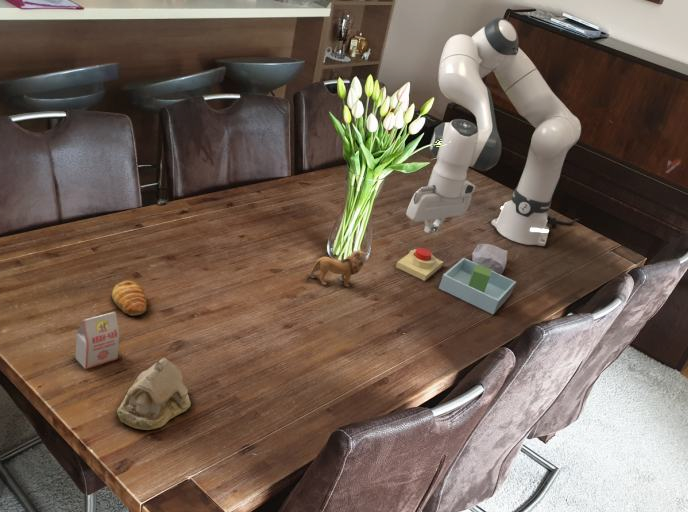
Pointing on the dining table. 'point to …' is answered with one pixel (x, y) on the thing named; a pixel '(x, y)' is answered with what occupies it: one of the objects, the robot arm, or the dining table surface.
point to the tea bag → (97, 340)
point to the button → (423, 254)
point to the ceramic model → (155, 397)
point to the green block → (480, 278)
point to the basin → (489, 301)
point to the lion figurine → (339, 266)
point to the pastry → (129, 298)
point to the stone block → (490, 257)
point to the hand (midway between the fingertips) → (430, 231)
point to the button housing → (419, 265)
